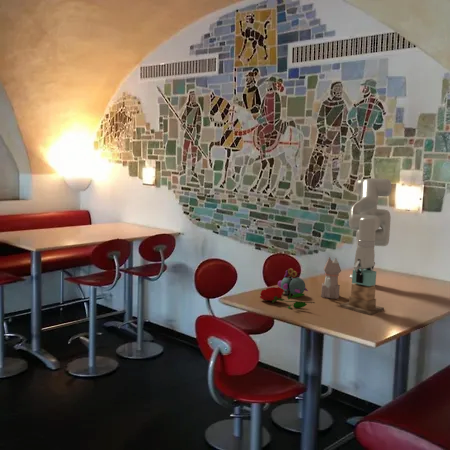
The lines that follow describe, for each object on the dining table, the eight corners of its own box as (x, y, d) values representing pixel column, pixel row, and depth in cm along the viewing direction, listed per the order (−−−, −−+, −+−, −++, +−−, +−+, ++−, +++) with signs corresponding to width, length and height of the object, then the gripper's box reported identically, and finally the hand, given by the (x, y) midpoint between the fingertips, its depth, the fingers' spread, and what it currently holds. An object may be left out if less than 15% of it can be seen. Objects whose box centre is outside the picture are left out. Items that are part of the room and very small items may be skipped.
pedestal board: (340, 306, 263) (340, 296, 262) (354, 302, 271) (355, 292, 270) (369, 314, 251) (370, 303, 251) (383, 310, 259) (384, 299, 259)
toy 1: (273, 294, 283) (297, 299, 272) (274, 267, 281) (297, 272, 271) (287, 290, 291) (310, 295, 280) (288, 265, 289) (311, 269, 279)
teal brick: (351, 282, 260) (352, 270, 259) (357, 280, 265) (358, 268, 264) (369, 286, 254) (370, 273, 253) (375, 284, 259) (376, 271, 258)
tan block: (350, 296, 262) (351, 284, 261) (358, 294, 266) (359, 282, 265) (367, 300, 255) (368, 288, 254) (374, 298, 259) (375, 286, 258)
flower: (317, 287, 253) (262, 281, 271) (309, 300, 247) (253, 293, 265) (322, 302, 257) (267, 295, 275) (314, 316, 251) (258, 308, 269)
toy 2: (340, 294, 285) (343, 256, 283) (335, 303, 268) (338, 262, 266) (323, 292, 288) (325, 254, 285) (317, 301, 271) (319, 261, 268)
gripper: (369, 240, 265) (367, 277, 268) (348, 244, 254) (346, 282, 256) (383, 243, 260) (380, 280, 263) (362, 247, 248) (360, 286, 251)
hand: (363, 281), depth 259 cm, fingers open, 6 cm apart
